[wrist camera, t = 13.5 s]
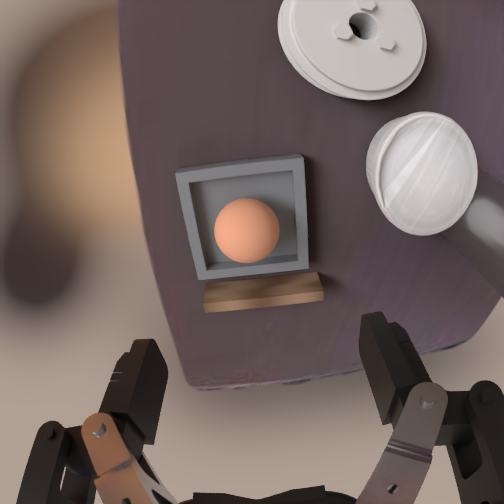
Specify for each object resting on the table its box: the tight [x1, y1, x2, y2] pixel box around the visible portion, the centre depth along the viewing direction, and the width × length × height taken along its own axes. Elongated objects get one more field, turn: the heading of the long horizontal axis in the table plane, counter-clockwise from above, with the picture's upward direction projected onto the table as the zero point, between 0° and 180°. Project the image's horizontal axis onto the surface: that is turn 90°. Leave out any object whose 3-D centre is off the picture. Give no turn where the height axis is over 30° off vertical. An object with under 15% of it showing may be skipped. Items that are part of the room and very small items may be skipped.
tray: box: [175, 153, 309, 280], centre depth 29 cm, size 11×11×2 cm
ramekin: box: [366, 112, 478, 236], centre depth 25 cm, size 11×11×5 cm
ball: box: [214, 198, 280, 263], centre depth 27 cm, size 6×6×6 cm
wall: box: [203, 272, 324, 313], centre depth 32 cm, size 12×1×4 cm, turn 96°
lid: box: [278, 0, 426, 100], centre depth 19 cm, size 13×13×5 cm
